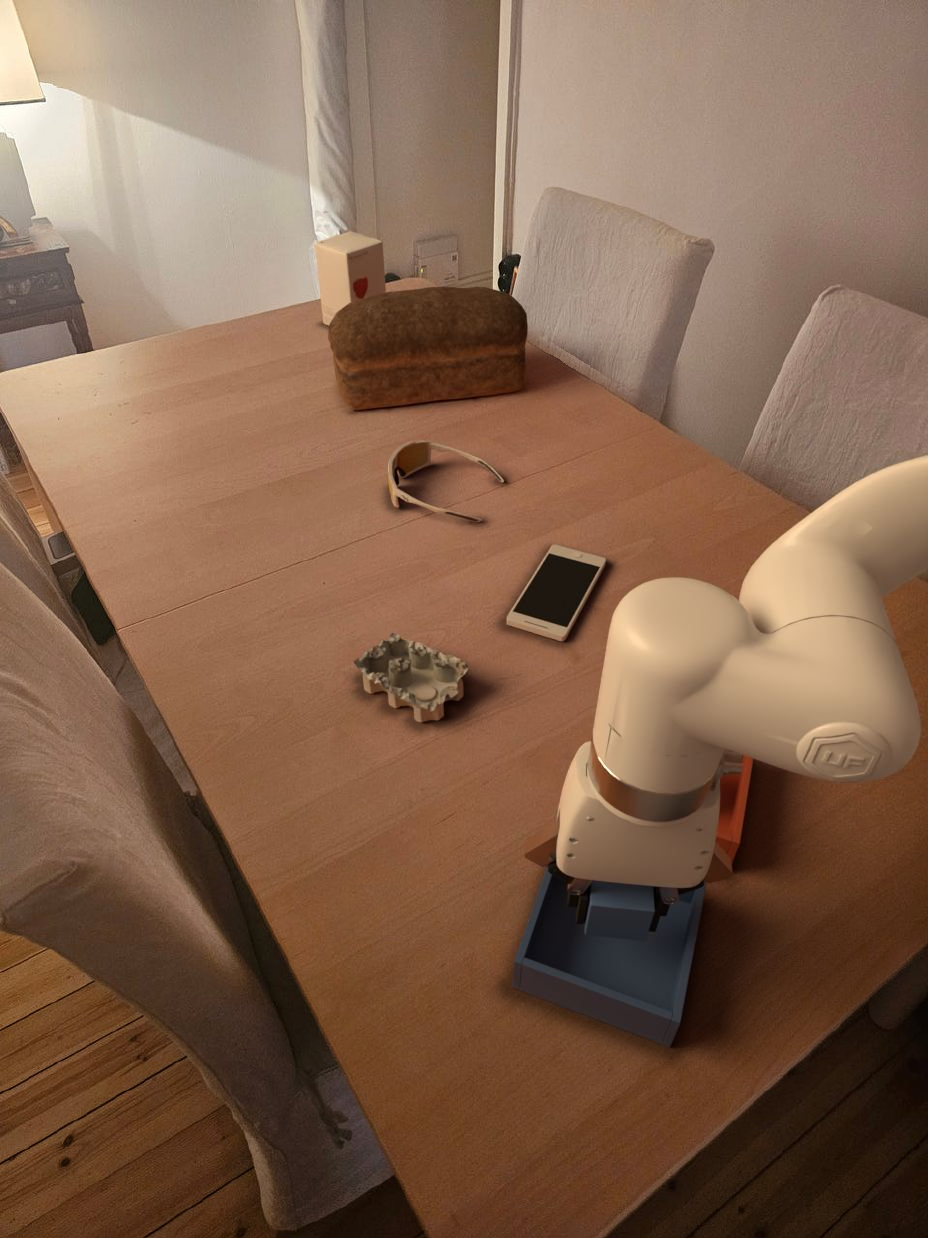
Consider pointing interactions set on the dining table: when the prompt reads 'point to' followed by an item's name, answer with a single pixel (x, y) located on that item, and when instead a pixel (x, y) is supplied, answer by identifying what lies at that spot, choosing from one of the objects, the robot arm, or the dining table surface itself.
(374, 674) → the egg carton
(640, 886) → the blue block
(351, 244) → the white product box
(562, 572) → the smartphone
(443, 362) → the bread
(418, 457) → the sunglasses
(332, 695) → the dining table surface
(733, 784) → the terracotta bin
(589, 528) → the dining table surface
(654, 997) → the blue bin
